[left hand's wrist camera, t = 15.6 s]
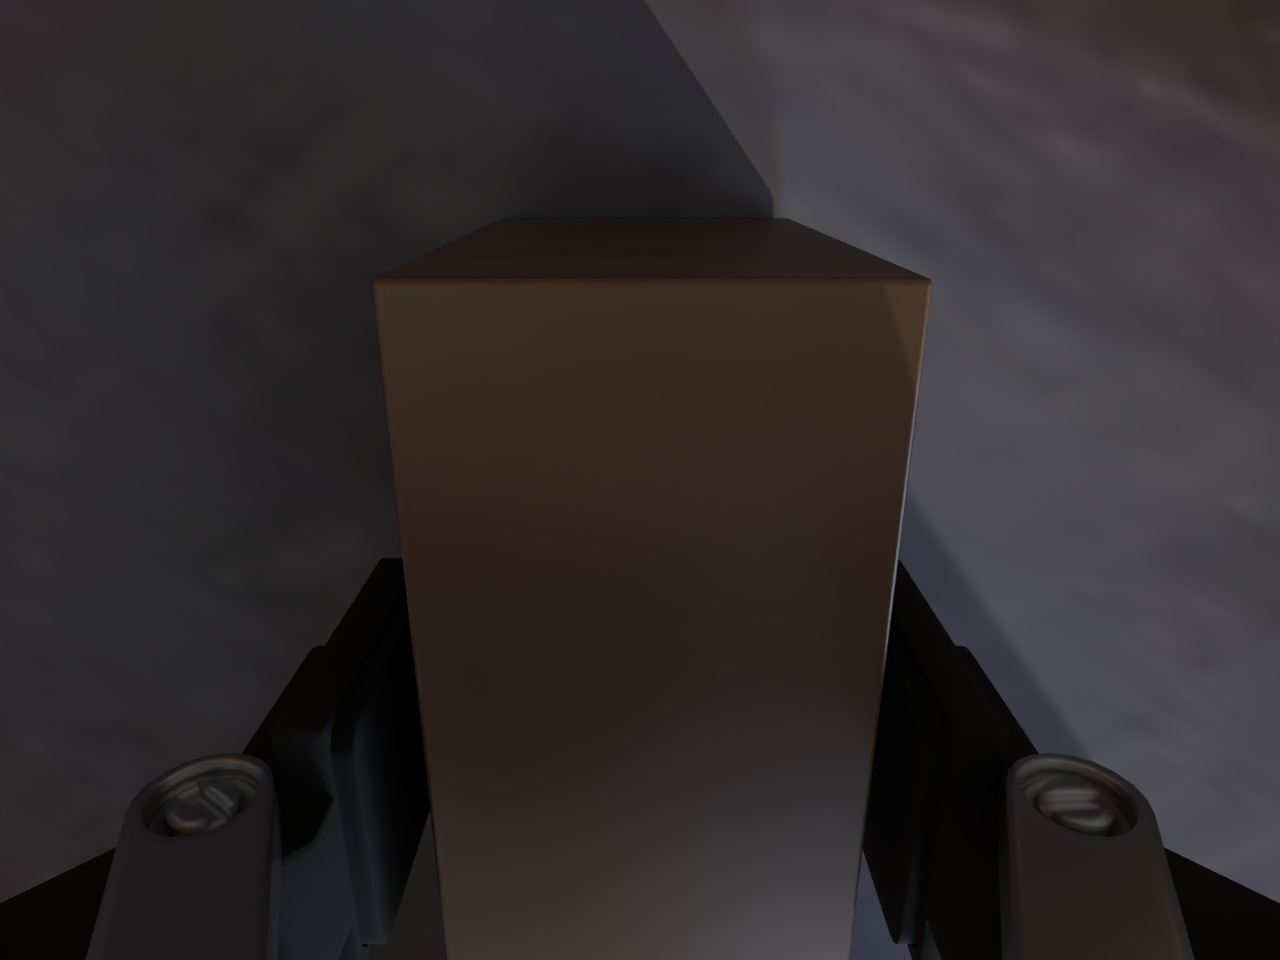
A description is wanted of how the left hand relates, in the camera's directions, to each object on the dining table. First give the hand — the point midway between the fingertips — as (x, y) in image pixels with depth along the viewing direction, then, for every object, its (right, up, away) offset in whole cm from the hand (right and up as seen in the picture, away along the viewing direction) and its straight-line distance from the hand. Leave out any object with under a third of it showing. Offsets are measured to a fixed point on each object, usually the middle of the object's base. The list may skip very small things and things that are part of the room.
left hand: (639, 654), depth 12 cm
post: (0, -31, +15) cm, 35 cm away
